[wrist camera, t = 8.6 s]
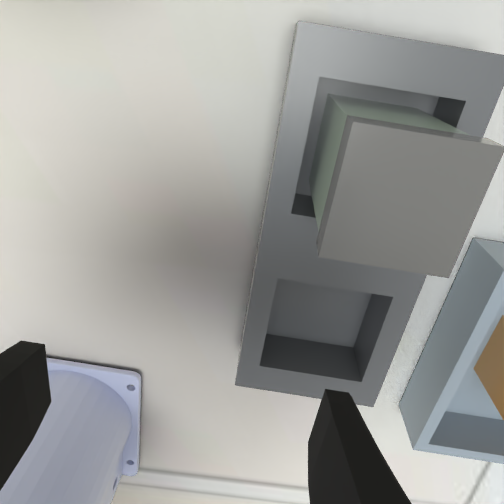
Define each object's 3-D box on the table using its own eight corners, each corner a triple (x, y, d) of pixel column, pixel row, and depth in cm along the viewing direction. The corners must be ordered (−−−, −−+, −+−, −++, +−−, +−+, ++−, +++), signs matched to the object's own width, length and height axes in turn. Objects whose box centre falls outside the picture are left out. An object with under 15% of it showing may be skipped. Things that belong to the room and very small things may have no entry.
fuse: (391, 195, 18) (448, 278, 12) (306, 181, 18) (318, 256, 12) (420, 105, 16) (506, 147, 10) (325, 90, 16) (352, 122, 10)
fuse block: (362, 364, 23) (373, 407, 20) (240, 345, 23) (234, 385, 20) (475, 53, 16) (515, 56, 13) (295, 23, 16) (298, 20, 13)
